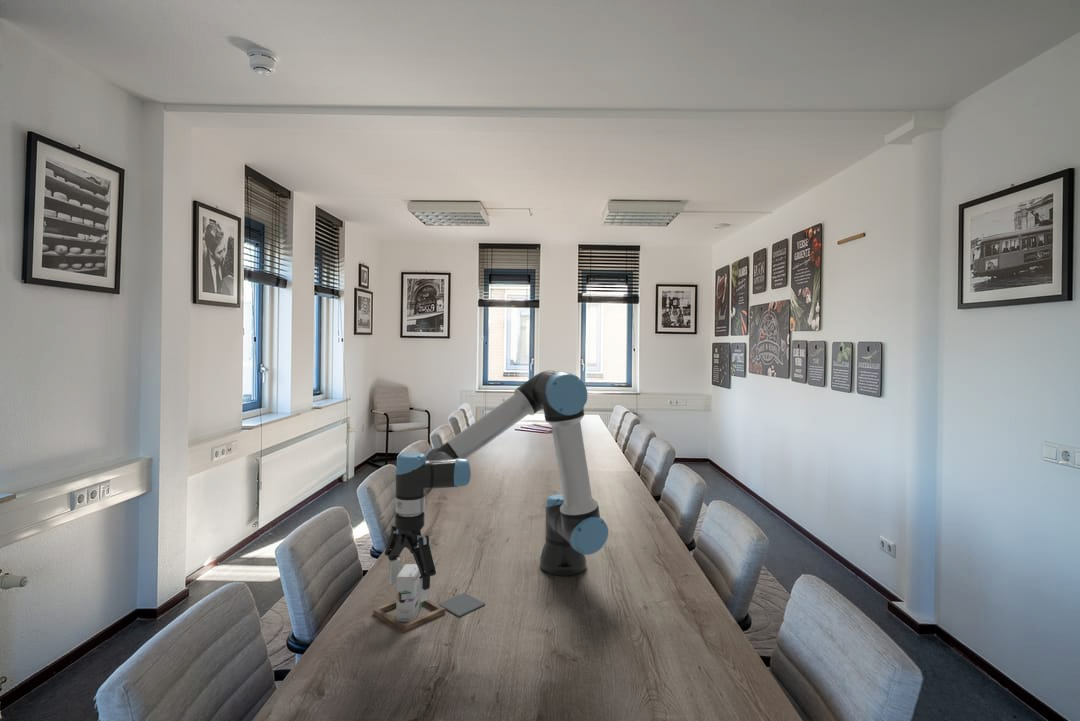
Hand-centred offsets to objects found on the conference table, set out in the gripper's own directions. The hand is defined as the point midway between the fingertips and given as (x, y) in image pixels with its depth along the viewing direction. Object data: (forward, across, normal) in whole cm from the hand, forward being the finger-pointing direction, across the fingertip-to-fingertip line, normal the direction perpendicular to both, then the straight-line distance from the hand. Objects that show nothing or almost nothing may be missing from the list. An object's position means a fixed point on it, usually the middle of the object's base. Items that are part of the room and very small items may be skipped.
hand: (408, 591), depth 138 cm
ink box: (+6, 0, 0) cm, 6 cm away
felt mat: (+6, +7, +13) cm, 15 cm away
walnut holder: (+6, 0, 0) cm, 6 cm away
